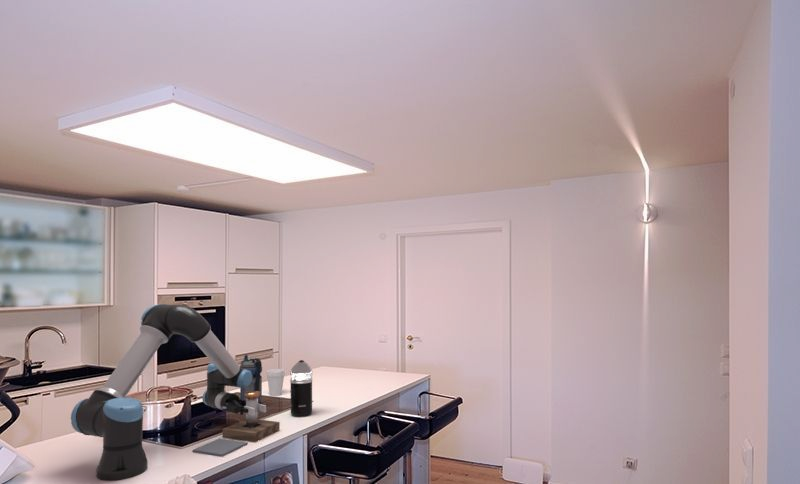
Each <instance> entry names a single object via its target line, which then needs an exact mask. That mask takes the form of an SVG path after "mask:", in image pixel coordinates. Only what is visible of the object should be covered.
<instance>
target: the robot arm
mask: <svg viewBox="0 0 800 484" xmlns="http://www.w3.org/2000/svg"><path fill="white" fill-rule="evenodd" d="M140 325H141V326H140V327H139V330H140V334H139V335H138V337H137V338H136V340H135V341H134V342H133V344H131V347H129V350H128V351H127V352H126V353H125V354H124V356H123V358H122V359H121V360H120V362H119V363H118V365H116V367H115V369H114V370H113V372H112V373H111V374H110V376H109V377H108V378H107V380H106V381H105V383H104V384H103V385H102V387H100V388H96V389H94V390H93V392H92V393H91V395H90V396H89V397H88V398H85V399H81V400H80V401H79V402H77V403H76V404H75V406H74V407H73V408H72V410H71V413H70V414H71V415H70V420H71V421H70V422H71V423H70V424H71V426H72V428H73V429H74V430H75V432H77V433H79V434H82V435H84V436H93V437H98V438H102V439H103V440H102V445H103V446H102V454H101V456H100V459H99V462H98V465H97V467H96V473H95V474H96V478H97V479H99V480H103V481H117V480H122V479H123V480H124V479H128V478H131V477H135V476H138V475H140V474H142V473H144V472H145V471H146V470H148V464H149V463H148V458H147V456H146V452H145V450H144V447H143V427H144V426H143V424H144V423H143V422H144V409H143V404H142V401H141V400H139V399H138V398H134V397H127V395H128V394H129V392H130V391H131V389H132V388H133V387H134V385H135V384H136V382H137V381H138V379H139V377H140V376H141V375H142V373H143V371H144V370H145V369H146V367H147V366H148V365H149V363H150V361H151V360H152V359H153V357H154V356H155V354H156V352H157V350H159V348H160V346H161V345H163V344H167V343H168V342H169V340H170V339H171V337H172V336H173V335H180V336H183V337H184V338H186V339H187V340H188V341H190V342H191V343H195V345H196V346H197V347H198V348H199V349H200V350H201V351H202V352H203V354H204V355H205V356H206V357H207V359H208V360H209V361H210V362H211V363H209V364H208V365H207V369H206V387H207V388H206V390H205V391H204V392H203V395H202V397H201V399H202V402H203V403H204V405H206V406H208V407H210V408H215V409H218V410H220V411H221V410H222V411H223V412H228V413H232V414H237V415H239V413H240V416H241V415H242V416H243V415H244V414H245V415H246V414H249V415H253V416H254V415H255V408H252V407H248V406H246V400H242V399H240V396H238V394H236V393H232V392H227V391H225V389H226V388H225V387H232V388H233V387H234V388H239V389H240V387H248V386H249V385H250V383H251V382H252V373H251V372H250V371H249V370H246V369H244V370H243V369H242V368H241V367H240V365H239V363H238V362H237V360H236V359H235V358H234V356H232V354H231V353H230V352H229V351H228V349H227V348H226V346H224V344H223V343H222V342H221V341H220V340H219V338H218V336H216V334H214V332H213V331H212V330H211V329H212V328H211V324H210V323H209V322H208V321H207V320H206V318H204V317H203V315H201V313H200V312H198V311H197V310H195V308H193V307H191V306H189V305H185V304H166V303H158V304H153V305H151V306H149V307H148V308H146V309H145V311H144V312H143V314H142V316H141V322H140ZM258 412H262V413H267V405H266V404H261V402H260V401H258Z"/></svg>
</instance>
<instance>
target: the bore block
mask: <svg viewBox="0 0 800 484" xmlns="http://www.w3.org/2000/svg"><path fill="white" fill-rule="evenodd" d="M280 424H281V423H280V421H276V420H275V421H274V420H266V419H259V418H258V426H257V427H254V428H247V427H246V419H243V420H241V421H239V422H236V423H234V424H232V425H229V426H225V427H224V428H222V439H228V440H235V441H242V442H248V443H249V442H250V443H256V442H258V440H259V441H261V440H263V439H264V438H268V437H269V436H271V435H273V434H275V433H278V432H279V431H280V426H281V425H280ZM262 438H263V439H262ZM260 439H261V440H260Z"/></svg>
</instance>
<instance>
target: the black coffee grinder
mask: <svg viewBox="0 0 800 484" xmlns="http://www.w3.org/2000/svg"><path fill="white" fill-rule="evenodd" d="M289 378H290V380H289V383H290V415H292V416H293V417H299V418H300V417H302V416H303V417H307V416H309V415H312V413H313V370H312V367H311V365H309V363H307V362H305V360H303V359H300V360H299V361H297V362H296V363H295V364H294V365H293V366H292V368H291V370H290V377H289Z"/></svg>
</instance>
